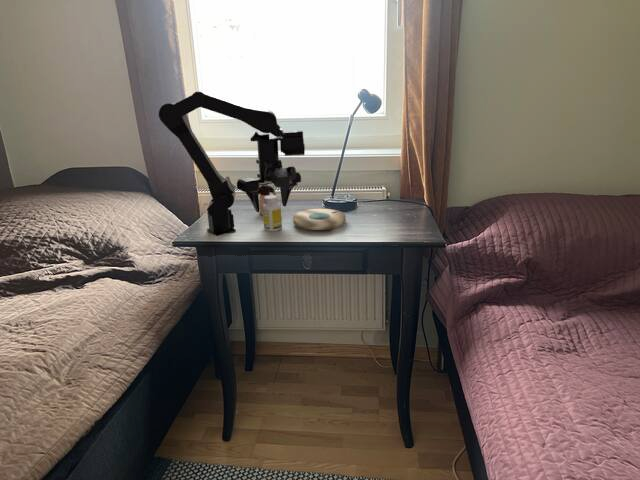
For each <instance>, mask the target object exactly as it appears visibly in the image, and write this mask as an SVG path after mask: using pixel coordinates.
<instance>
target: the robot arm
mask: <svg viewBox="0 0 640 480" xmlns="http://www.w3.org/2000/svg"><path fill="white" fill-rule="evenodd" d="M198 108H203V109H205V110H209V111H211V112H214V113H218V114H219V115H223V116H227V117H229V118H233V119H234V120H235V119H236V120H238V121H241V122H243V123H245V124H247V125H248V126H250V127H251V128H254V129H255V130H257V131H255V132H254V134H253V135H252V136H251V137H250V142H256V143H257V155H258V156H257V157H258V159H256V161H255V162H256V164H258V171H259V172H258V173H256V177H257V178H258V179H255V178H253V177H251V176H250V177H249V176H247V177H242V178H238V180H237V181H236V186H235V185H234V184H233V183H232V181H231V179H230V177H229V175H227V176H226V177H223V176H222V175H221V174H220V173H219V172H218V170H217V168H216V167H215V165H214V164H213V162H212V160H211V158H210V157H209V156H208V153H206V151H205V149H204V147H203V146H202V144H201V142H200V141H199V140H198V138H197V136H196V134H195V133H194V132H193V130H192V126H191V123H190V120H189V117H188V115H187V114H189V113H191V112H193V111H195V110H197V109H198ZM158 118H159V120H160V122H161V123H162V124H163V125H164V126H165V127H166V129H168V131H169V132H171V134H173V135H174V136H176V138H177V139H178V140H179V141H180V143H181V145H182V146H183V148H184V149H185V150H186V152H187V153H188V155H189V157H190V158H191V160H192V161H193V163H194V164H195V166H196V167H197V169H198V170H199V172H200V174H201V175H202V177H203V178H204V179H205V182H206V185H207V187H208V190H209V192H210V195H211V199H210V202H209V203H208V206H207V207H206V210H207V213H206V215H207V221H208V228H207V229H206V231H207V232H208V233H211V235H214V236H223V235H226V234H231V233H235V232H236V231H237V230H236V228H235V220H234V214H233V213H232V210H231V209H229V208H231V207H232V206H233V205H234V203H235V199H236V189H237V190H240V191H241V192H244V193H245V194H246V196H247V197H248V198H249V201H250V202H251V204H252V206H253V208H254V210H255V212H256V213H259V212H260V207H259V203H260V194H259V193H260V191H258V188H259V187H260V186H262V185H266V184H268V185H271V184H273V185H274V187H276V188H280V189H279V190H280V197H281V198H280V199H281V203H282V207H287V203H288V200H289V197H290V194H291V192H292V190H293V188H294V187H296V186H298V183H301V182H302V174H301V173H300V172H298V171H297V169H296V167H294V166H293V165H292V166H287V167H284V166H283V163H282V159H279V146H280V153H282V154H284V156H286V157H288V156H289V157H291V156H304V155H305V151H306V150H305V149H306V148H305V147H306V146H305V140H304V131H303V130H296V131H284V130H283V128H282V127H281V126H280V125H279V124H278V121H277V116H276V114H275V112H273V111H271V110H270V109H264V108H256V107H249V106H244V105H240V104H238V103H236V102H232V101H229V100H226V99H223V98H220V97H217V96H215V95H211V94H208V93H206V92H205V91H202V90H198V91H195V92H193V93H192V94H191V95H189V96H186V98H183V99H181V100H180V101H178V102H175V101H170V102H167V103H165V104H163V105H161V107H160V108H159V110H158ZM258 131H259V132H261V133H262V134H261V133H259V132H258ZM270 135H273V136H270ZM278 141H279V142H278ZM279 143H280V144H279ZM264 181H265V182H264Z"/></svg>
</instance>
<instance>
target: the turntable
mask: <svg viewBox="0 0 640 480" xmlns="http://www.w3.org/2000/svg"><path fill="white" fill-rule="evenodd" d="M346 217H347V216H346V213H344V212H342V211H340V210H336V209H331V208H312V209H311V208H310V209H306V210H301V211H298V212H296V213H295V214H293V215H292V221H293V224H294V225H295V227H298V228H302V229H306V230H312V231H314V230H315V231H316V230H317V231H321V230H322V231H323V230H330V229H331V230H332V229H335V228H338V227H339V228H340V227H342V226H343V225H344V224H345V223H346V221H347V220H346V219H347V218H346Z"/></svg>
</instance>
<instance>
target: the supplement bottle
mask: <svg viewBox="0 0 640 480" xmlns="http://www.w3.org/2000/svg"><path fill="white" fill-rule="evenodd" d="M264 201H265V204H264V205H263V215H262V219H263V229H264V230H265V231H268V232H276V231H280V230H281V229H282V227H283V223H282V222H283V221H282V219H283V218H282V207H281V204H280V203H279V202H278V201H279V196H278V195H273V194H270V196H265V197H264Z"/></svg>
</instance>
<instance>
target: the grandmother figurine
mask: <svg viewBox="0 0 640 480" xmlns="http://www.w3.org/2000/svg"><path fill="white" fill-rule="evenodd" d="M264 182H265V181H264ZM257 190H258V191H260V193H259V212H258V214H259V215H262V216H263V205H264V204H265V201H264V197H265V196H270V195H271V193H272V195H275V196H277V193H276V191H275V189H274V188H273V187H272V186H270V185H269V184H266V185H261V186H259V188H258V189H257Z"/></svg>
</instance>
